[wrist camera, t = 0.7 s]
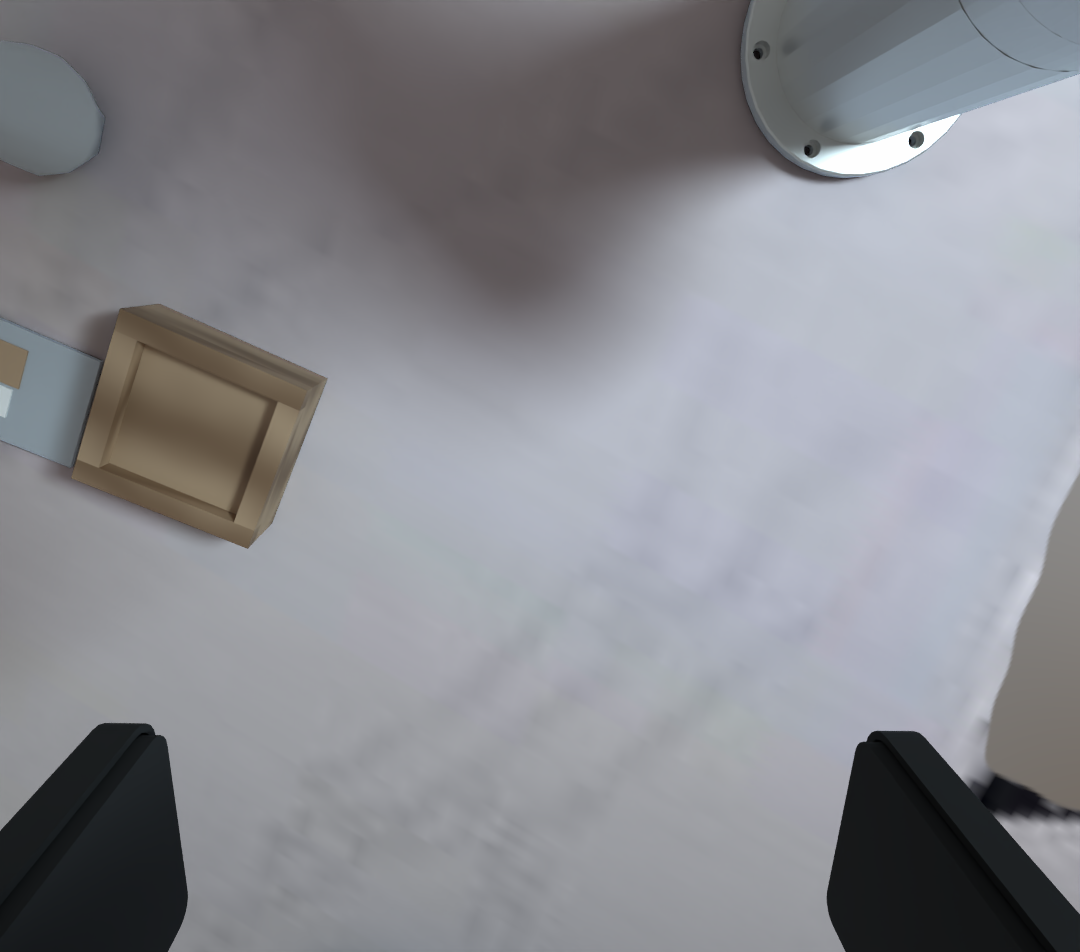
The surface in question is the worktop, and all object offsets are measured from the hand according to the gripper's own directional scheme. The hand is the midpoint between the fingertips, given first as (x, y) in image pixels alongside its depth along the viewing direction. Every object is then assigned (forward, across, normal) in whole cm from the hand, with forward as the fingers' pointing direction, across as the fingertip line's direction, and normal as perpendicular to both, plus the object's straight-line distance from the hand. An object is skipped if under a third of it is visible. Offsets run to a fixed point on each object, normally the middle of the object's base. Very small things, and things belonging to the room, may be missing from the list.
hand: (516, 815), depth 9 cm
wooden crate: (+33, +18, +2) cm, 38 cm away
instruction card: (+33, +30, 0) cm, 45 cm away
